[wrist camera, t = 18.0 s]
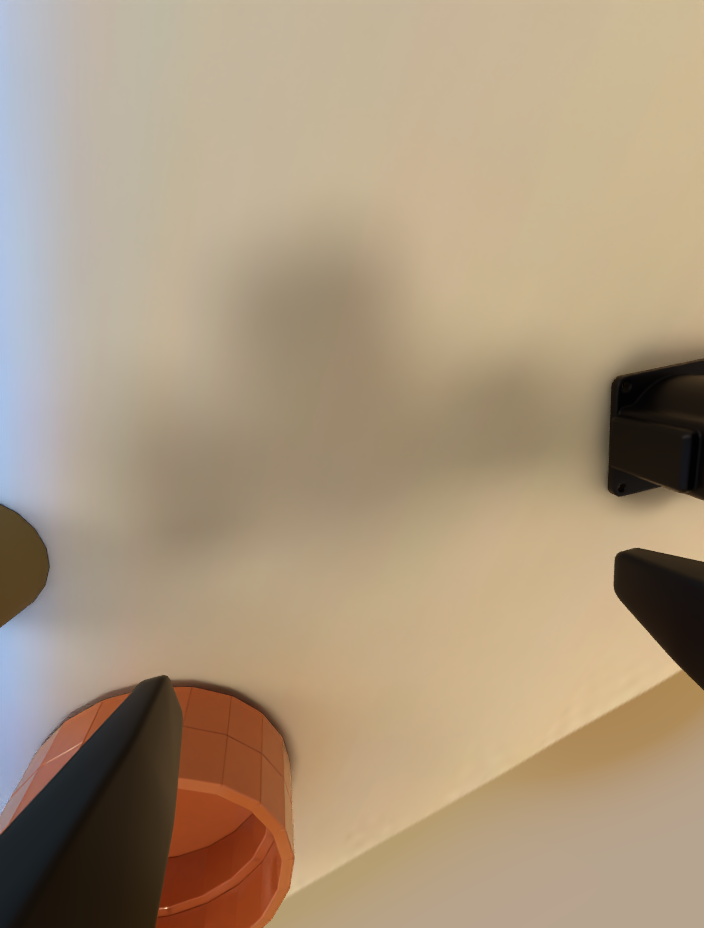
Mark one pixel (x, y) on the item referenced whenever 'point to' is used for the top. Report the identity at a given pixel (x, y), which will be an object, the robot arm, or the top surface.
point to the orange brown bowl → (205, 809)
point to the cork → (19, 564)
